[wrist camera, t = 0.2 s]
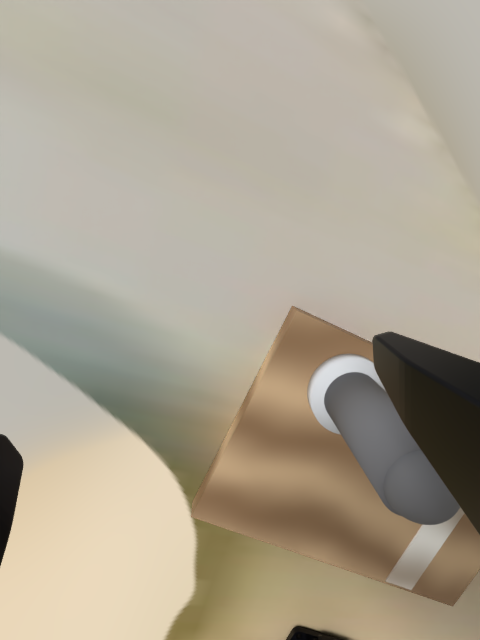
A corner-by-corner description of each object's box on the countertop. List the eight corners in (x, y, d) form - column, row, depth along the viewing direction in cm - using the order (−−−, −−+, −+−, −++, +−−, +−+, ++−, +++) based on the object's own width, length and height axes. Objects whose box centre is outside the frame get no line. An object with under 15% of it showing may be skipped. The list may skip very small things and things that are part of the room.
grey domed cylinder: (359, 436, 25) (460, 580, 15) (293, 408, 25) (351, 541, 14) (397, 371, 24) (534, 477, 14) (330, 341, 24) (422, 430, 13)
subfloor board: (441, 588, 31) (454, 608, 30) (192, 501, 28) (191, 518, 26) (555, 428, 28) (576, 440, 27) (292, 305, 24) (297, 311, 23)
